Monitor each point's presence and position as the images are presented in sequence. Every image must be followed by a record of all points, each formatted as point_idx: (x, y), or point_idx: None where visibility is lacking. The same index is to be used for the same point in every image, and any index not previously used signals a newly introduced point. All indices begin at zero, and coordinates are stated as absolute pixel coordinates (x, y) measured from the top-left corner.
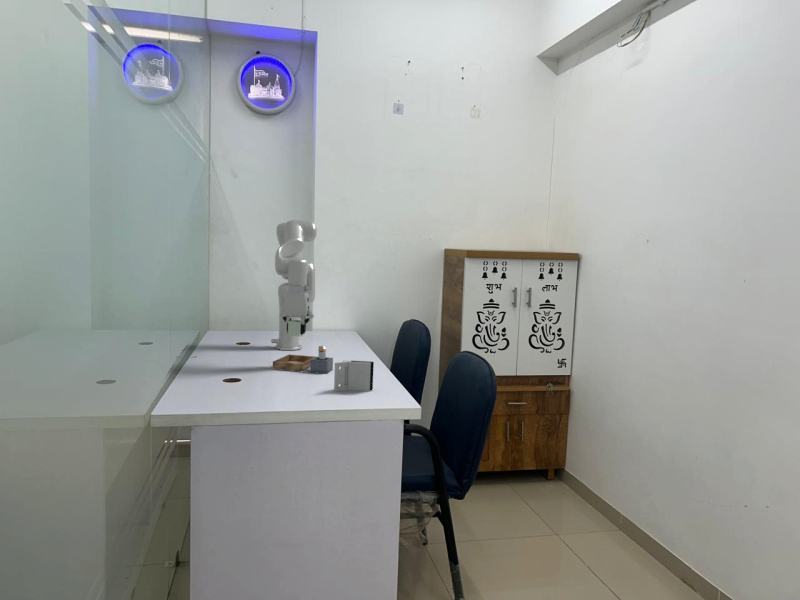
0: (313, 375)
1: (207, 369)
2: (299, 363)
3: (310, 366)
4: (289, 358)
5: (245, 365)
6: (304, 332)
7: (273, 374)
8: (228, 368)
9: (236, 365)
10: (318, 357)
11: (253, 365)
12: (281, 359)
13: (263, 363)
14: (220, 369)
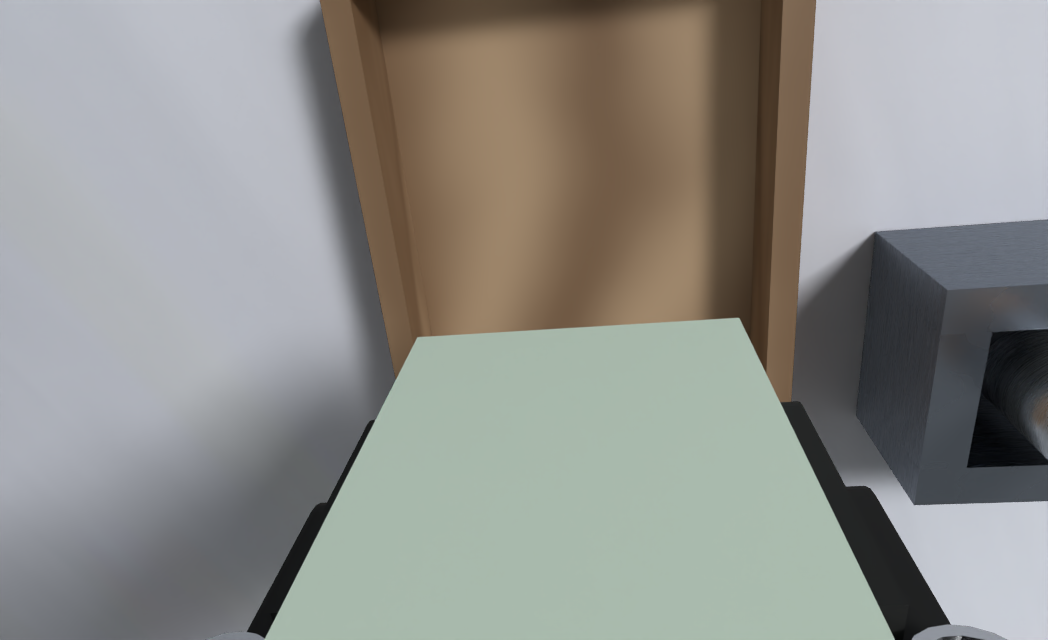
0: (927, 515)
1: (4, 632)
2: (593, 131)
3: (880, 452)
4: (368, 12)
5: (110, 407)
6: (801, 428)
7: None
8: (95, 555)
9: (47, 439)
10: (1021, 430)
11: (170, 376)
12: (409, 307)
13: (179, 247)
14: (77, 602)
